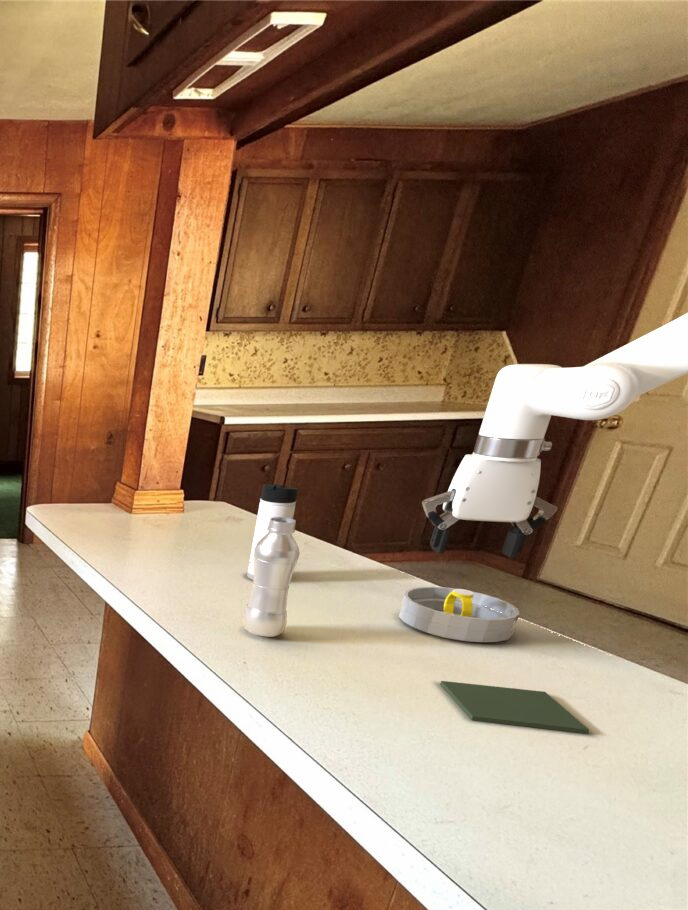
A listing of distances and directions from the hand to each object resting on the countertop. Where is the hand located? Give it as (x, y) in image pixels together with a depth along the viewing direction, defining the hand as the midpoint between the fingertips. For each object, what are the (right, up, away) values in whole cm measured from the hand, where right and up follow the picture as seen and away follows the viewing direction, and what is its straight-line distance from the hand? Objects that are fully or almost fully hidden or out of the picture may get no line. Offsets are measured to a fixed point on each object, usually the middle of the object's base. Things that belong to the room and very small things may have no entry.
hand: (472, 553), depth 109 cm
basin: (+1, -12, +5) cm, 13 cm away
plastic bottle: (-32, -14, +5) cm, 35 cm away
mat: (-12, -22, -20) cm, 32 cm away
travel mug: (-18, -3, +29) cm, 35 cm away
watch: (+1, -12, +4) cm, 13 cm away
